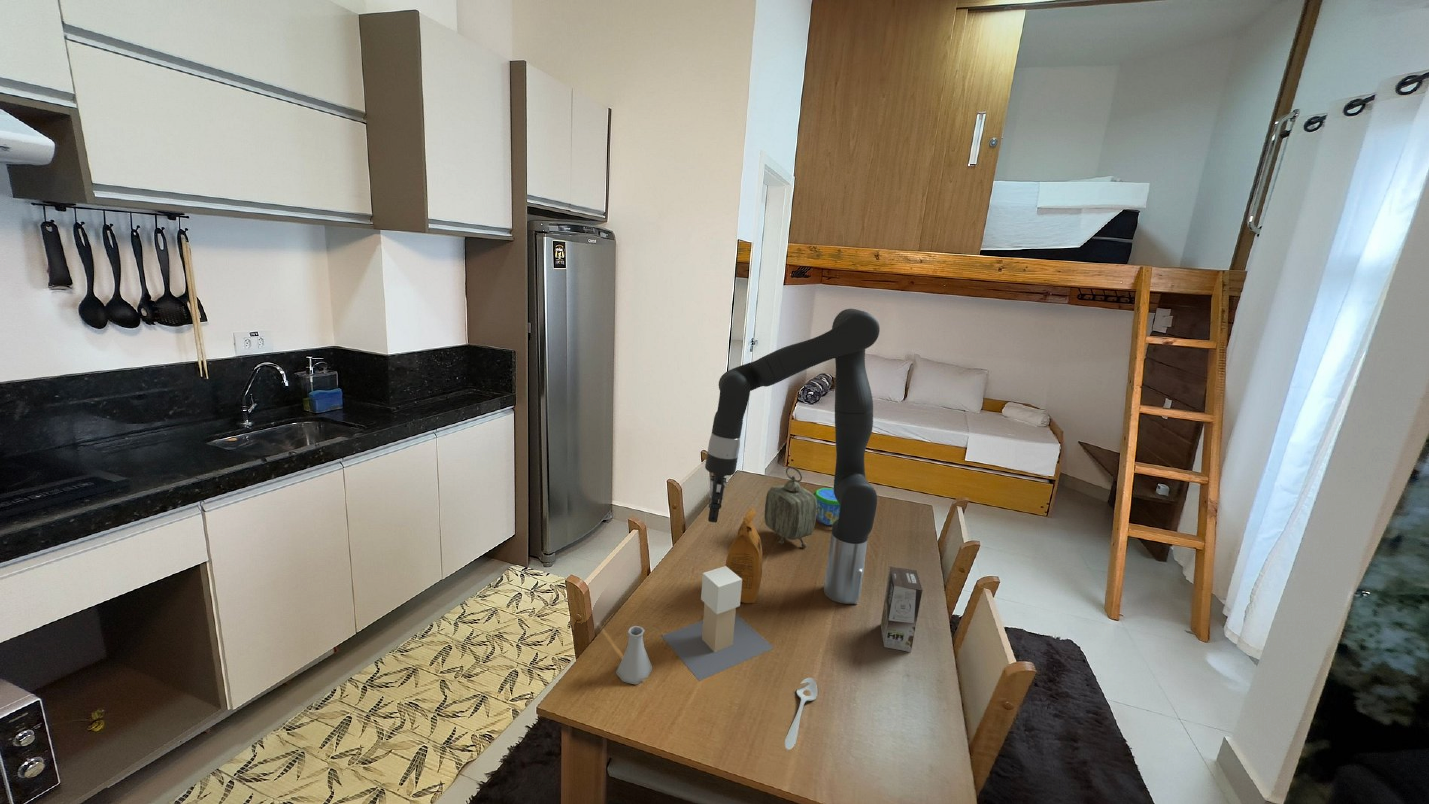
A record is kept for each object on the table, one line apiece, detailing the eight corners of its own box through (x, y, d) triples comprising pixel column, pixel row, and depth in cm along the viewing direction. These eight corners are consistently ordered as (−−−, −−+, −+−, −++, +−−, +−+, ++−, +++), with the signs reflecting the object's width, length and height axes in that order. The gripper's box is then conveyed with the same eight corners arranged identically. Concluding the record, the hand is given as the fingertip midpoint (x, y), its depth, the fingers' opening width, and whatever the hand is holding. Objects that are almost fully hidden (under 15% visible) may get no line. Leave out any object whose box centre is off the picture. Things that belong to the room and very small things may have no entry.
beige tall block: (719, 632, 129) (724, 570, 125) (732, 644, 125) (738, 581, 121) (701, 639, 126) (706, 576, 122) (714, 652, 122) (719, 587, 118)
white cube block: (723, 591, 127) (725, 565, 125) (739, 606, 122) (742, 579, 120) (701, 599, 123) (702, 572, 122) (716, 614, 119) (718, 587, 117)
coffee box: (912, 653, 127) (923, 590, 123) (883, 647, 128) (893, 585, 124) (907, 628, 136) (917, 569, 132) (880, 623, 137) (889, 565, 133)
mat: (731, 611, 137) (732, 609, 137) (773, 650, 125) (773, 648, 124) (661, 638, 126) (661, 635, 126) (699, 683, 113) (699, 680, 113)
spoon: (820, 686, 115) (821, 680, 115) (795, 765, 97) (796, 757, 96) (800, 680, 117) (801, 673, 116) (772, 756, 98) (773, 748, 98)
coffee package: (764, 583, 151) (771, 508, 145) (756, 609, 139) (764, 529, 134) (728, 576, 153) (734, 502, 147) (718, 601, 141) (724, 522, 136)
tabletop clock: (812, 549, 170) (821, 473, 164) (790, 556, 165) (798, 478, 159) (781, 529, 182) (789, 458, 176) (759, 535, 177) (766, 462, 171)
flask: (636, 690, 110) (638, 647, 108) (609, 674, 114) (610, 632, 112) (659, 669, 116) (661, 628, 114) (632, 655, 120) (633, 615, 118)
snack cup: (855, 528, 186) (859, 501, 184) (830, 534, 181) (834, 505, 179) (825, 509, 199) (829, 483, 197) (802, 514, 194) (805, 487, 192)
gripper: (739, 463, 127) (727, 529, 131) (737, 446, 141) (726, 506, 145) (707, 459, 127) (696, 524, 130) (708, 442, 141) (698, 501, 144)
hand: (712, 514), depth 137 cm, fingers open, 8 cm apart
